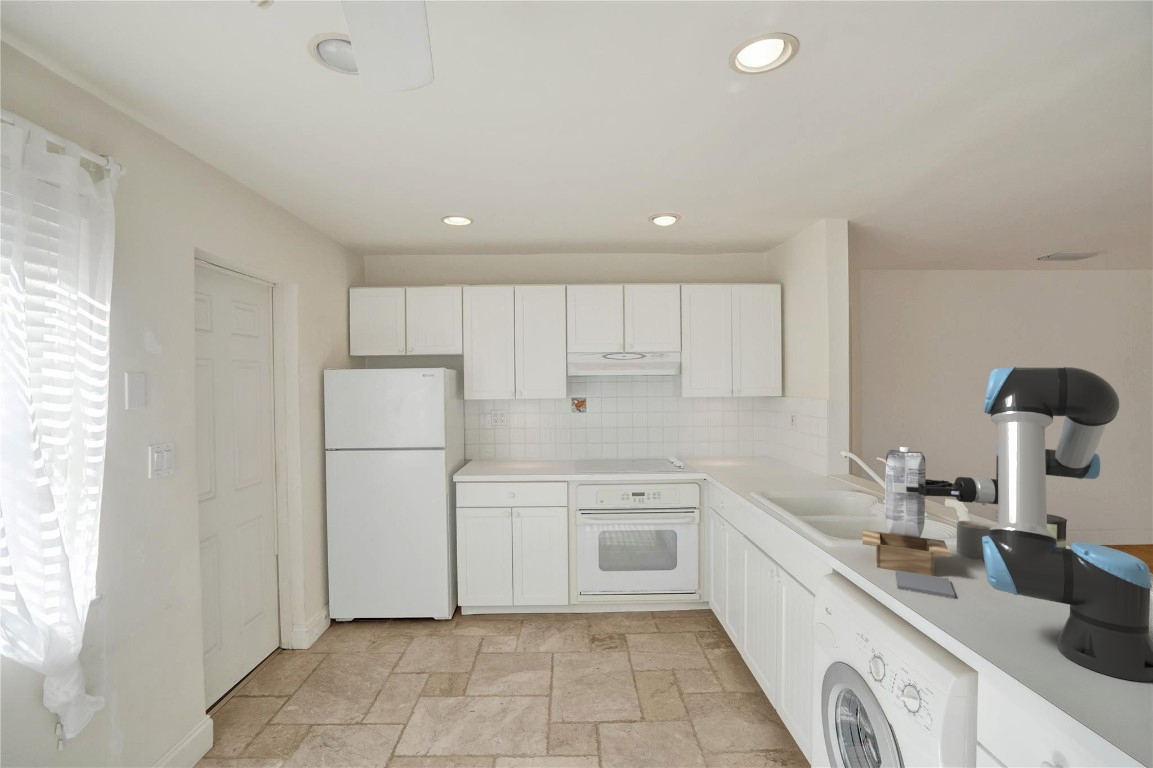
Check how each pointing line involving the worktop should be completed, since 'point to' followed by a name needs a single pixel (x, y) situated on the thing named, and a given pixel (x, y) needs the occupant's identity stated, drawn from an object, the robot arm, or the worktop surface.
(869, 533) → the crate
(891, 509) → the juice carton
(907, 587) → the mat
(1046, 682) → the worktop surface
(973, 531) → the coffee mug
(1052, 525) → the coffee can
